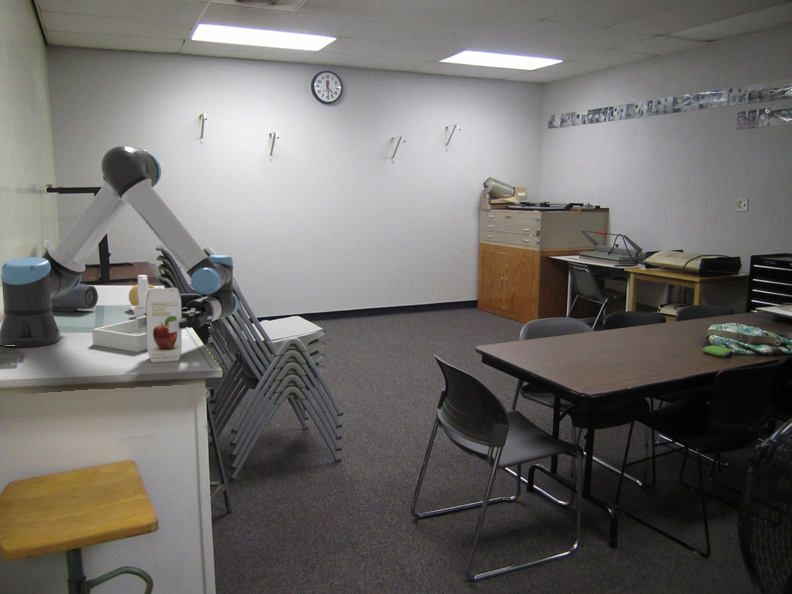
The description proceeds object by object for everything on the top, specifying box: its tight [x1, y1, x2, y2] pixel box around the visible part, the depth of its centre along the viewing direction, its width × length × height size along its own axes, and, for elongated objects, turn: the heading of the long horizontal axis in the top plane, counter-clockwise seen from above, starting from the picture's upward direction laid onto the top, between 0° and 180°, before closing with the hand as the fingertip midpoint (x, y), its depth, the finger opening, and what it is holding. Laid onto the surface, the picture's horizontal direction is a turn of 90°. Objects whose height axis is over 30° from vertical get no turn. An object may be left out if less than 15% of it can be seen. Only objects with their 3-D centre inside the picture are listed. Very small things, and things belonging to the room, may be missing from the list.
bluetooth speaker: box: [51, 283, 99, 312], centre depth 215 cm, size 23×9×10 cm, turn 84°
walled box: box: [91, 319, 147, 353], centre depth 177 cm, size 18×16×4 cm
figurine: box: [130, 274, 149, 318], centre depth 209 cm, size 7×9×15 cm
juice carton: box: [146, 287, 183, 363], centre depth 159 cm, size 8×9×19 cm
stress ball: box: [128, 283, 156, 306], centre depth 223 cm, size 10×10×10 cm
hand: (153, 325), depth 155 cm, fingers closed on juice carton, 9 cm apart
